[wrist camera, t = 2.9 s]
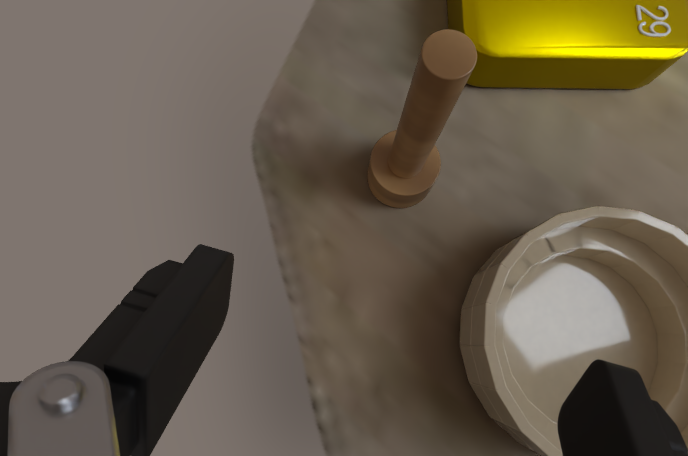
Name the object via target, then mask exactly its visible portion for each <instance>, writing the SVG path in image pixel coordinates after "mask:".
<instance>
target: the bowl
mask: <svg viewBox="0 0 688 456" xmlns="http://www.w3.org/2000/svg"><path fill="white" fill-rule="evenodd" d="M460 349H461V353H462V357H463V361H464V365H465V369H466V373H467V377H468V380H469V382H470V385H471V387H472V388H473V390H474V392H475V393H476V395H477V397H478V398H479V400H480V402H481V403H482V405H483V407H484V408H485V410H486V412H487V413H488V415H489V416H490V417H491V418H492V419H493V420H494V421H495V422H496V423H497V424H498V425H499V426H501V427H502V428H503V429H504V430H505V431H506V432H507V433H508V434H509V435H511V436H512V437H513V438H514V439H515V440H516V441H517V442H518V443H520V444H522V445H523V446H525V447H527V448H529V449H531V450H533V451H534V452H536V453H538V454H540V455H542V456H563V454H562V449H561V445H560V440H559V435H558V416H559V412H560V409H561V406H562V404H563V403H564V401H565V400H566V398H567V397H568V395H569V394H570V393H571V391H572V390H573V388H574V387H575V385H576V384H577V382H578V381H579V380H580V378H581V377H582V375H583V374H584V372H585V371H586V370H587V368H588V367H589V365H590V364H591V363H592V362H593V361H595V360H597V359H600V360H604V361H607V362H611V363H614V364H618V365H621V366H625V367H628V368H632V369H635V370H636V371H638V372H639V374H640V375H641V377H642V380H643V382H644V384H645V387H646V389H647V391H648V394H649V396H650V398H651V400H654V401H657V402H658V403H659V404H660V405H661V406H662V408H663V409H664V410H665V411H666V413H667V414H668V415H669V416H670V417H671V419H672V420H673V421H674V422H675V424H676V425H677V426H678V429H679V431H680V433H681V435H682V437H683V440H684V442H685V444H686V446H687V448H688V235H687V234H686V233H685V232H683V231H682V230H681V229H680V228H678V227H676V226H675V225H672V224H670V223H667V222H665V221H663V220H660V219H658V218H655V217H653V216H651V215H648V214H646V213H643V212H641V211H637V210H632V209H622V208H613V207H603V206H594V207H589V208H584V209H579V210H575V211H570V212H565V213H560V214H557V215H556V216H554V217H552V218H550V219H548V220H547V221H545V222H543V223H541V224H540V225H538V226H536V227H534V228H533V229H531V230H529V231H527V232H526V233H524V234H522V235H520V236H519V237H517V238H515V239H514V240H512V241H510V242H509V243H507V244H505V245H504V246H502V247H500V248H498V249H497V250H496V251H495V252H494V253H493V254H492V255H491V256H490V258H489V259H488V260H487V261H486V262H485V263H484V265H483V266H482V267H481V268H480V269H479V271H478V272H477V273H476V274H475V276H474V277H473V280H472V282H471V285H470V287H469V290H468V293H467V295H466V298H465V300H464V303H463V306H462V310H461V326H460Z"/></svg>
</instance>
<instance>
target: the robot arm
mask: <svg viewBox="0 0 688 456" xmlns="http://www.w3.org/2000/svg"><path fill="white" fill-rule="evenodd" d="M233 264H234V256H233V254H232V253H229V252H226V251H222V250H219V249H215V248H212V247H208V246H205V245H202V244H200V245H198V246H197V247H196V248H195V249H194V250H193V252H192V253H191V254H190V255H189V257H188V258H187V259H186V260H185V262H184V263H183V264H182V263H179V262H175V261H171V260H168V261H166V262H164V263H162V264H160V265H158V266H156V267H155V268H153V269H151V270H149V271H147V273H146V274H145V275H144V276H143V277H142V278H141V279H140V281H139V282H138V283H137V284H136V285H135V286H134V287H133V290H132V291H130V292H129V293H128V294H127V295H126V296H125V297H124V299H123V300H122V301H121V304H120V305H117V307H116V308H115V309H114V310H113V311H112V312H111V313H110V315H109V316H108V317H107V318H106V319H105V320H104V321H103V323H102V324H101V325H100V326H99V327H98V328H97V329H96V331H95V332H94V333H93V334H92V335H91V336H90V337H89V339H88V340H87V341H86V342H85V343H84V344H83V345H82V346H81V348H80V349H79V350H78V351H77V352H76V353H75V355H74V356H73V357H72V358H71V359H70V360H69V361H66V362H60V363H55V364H51V365H49V366H46V367H43V368H41V369H39V370H37V371H35V372H34V373H32V374H31V375H29V376H28V377H27V378H25V379H24V380H23V381H19V382H0V456H150V454H151V453H152V451H153V449H154V447H155V445H156V444H157V442H158V440H159V439H160V437H161V435H162V433H163V432H164V430H165V428H166V426H167V424H168V423H169V421H170V419H171V417H172V416H173V414H174V412H175V410H176V409H177V407H178V405H179V403H180V401H181V400H182V398H183V396H184V394H185V393H186V391H187V389H188V387H189V386H190V384H191V382H192V380H193V379H194V377H195V375H196V373H197V372H198V370H199V368H200V366H201V364H202V363H203V361H204V359H205V357H206V356H207V354H208V352H209V350H210V349H211V347H212V345H213V343H214V342H215V340H216V338H217V336H218V335H219V333H220V331H221V329H222V326H223V324H224V321H225V318H226V315H227V311H228V307H229V299H230V290H231V281H232V273H233ZM558 435H559V440H560V445H561V449H562V454H563V456H688V448H687V446H686V444H685V442H684V440H683V437H682V435H681V433H680V431H679V429H678V426H677V425H676V424H675V422H674V421H673V420H672V419H671V417H670V416H669V415H668V414H667V413H666V411H665V410H664V409H663V408H662V406H661V405H660V404H659V403H658V402H657V401H654V400H651V398H650V396H649V394H648V391H647V389H646V387H645V384H644V382H643V380H642V377H641V375H640V374H639V372H638V371H636V370H635V369H632V368H628V367H625V366H621V365H618V364H614V363H611V362H607V361H604V360H600V359H597V360H595V361H593V362H592V363H591V364H590V365H589V367H588V368H587V370H586V371H585V372H584V374H583V375H582V377H581V378H580V380H579V381H578V382H577V384H576V385H575V387H574V388H573V390H572V391H571V393H570V394H569V395H568V397H567V398H566V400H565V401H564V403H563V404H562V406H561V409H560V412H559V416H558Z"/></svg>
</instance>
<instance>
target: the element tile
mask: <svg viewBox="0 0 688 456" xmlns="http://www.w3.org/2000/svg"><path fill="white" fill-rule="evenodd" d="M447 9H448V29H451V30H456V31H459V32H461V33H463V34H465V35H466V36H467V37H469V38H470V39H471V41H472V42H473V43H474V45H475V48H476V51H477V62H476V65H475V67H474V69H473V71H472V73H471V75H470V77H469V79H468V81H467V84H469V85H472V86H476V87H501V88H580V89H635V88H639V87H642V86H644V85H647V84H649V83H650V82H651V81H653V80H654V79H655V78H656V77H658V76H659V75H660V74H661V73H663V72H664V71H665V70H666V69H667V68H669V67H670V66H671V65H672V64H674V63H675V62H676V61H677V60H678V59H680V58H681V57H682V56H683V55H684V54H685V53H686V52H687V51H688V0H447Z"/></svg>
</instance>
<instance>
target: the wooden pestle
mask: <svg viewBox="0 0 688 456" xmlns="http://www.w3.org/2000/svg"><path fill="white" fill-rule="evenodd" d="M476 62H477V51H476V48H475V45H474V43H473V42H472V41H471V39H470V38H469V37H467V36H466V35H465V34H463V33H461V32H459V31H456V30H451V29H445V30H439V31H437V32H435V33H433V34H431V35H430V36H429V37H428V38H427V39H426V40H425V41H424V43H423V45H422V48H421V52H420V55H419V58H418V62H417V65H416V68H415V72H414V75H413V78H412V81H411V85H410V88H409V91H408V95H407V98H406V101H405V105H404V108H403V111H402V115H401V118H400V121H399V124H398V128H397V130H395V131H392V132H389V133H387V134H385V135H384V136H383V137H381V138H380V139H379V140H378V142H377V143H376V144H375V146H374V148H373V150H372V153H371V157H370V162H369V167H368V173H367V180H368V185H369V188H370V190H371V192H372V193H373V195H374V196H375V197H376V198H377V199H378V200H379V201H380V202H382V203H384V204H385V205H388V206H390V207H394V208H407V207H411V206H413V205H415V204H417V203H419V202H420V201H422V200H423V199H424V198H425V196H426V195H427V194H428V192H429V190H430V189H431V187H432V186H433V184H434V183H435V181H436V179H437V178H438V175H439V172H440V166H441V160H440V155H439V152H438V150H437V148H436V146H435V143H436V141H437V139H438V137H439V135H440V133H441V131H442V129H443V127H444V125H445V123H446V121H447V119H448V117H449V116H450V114H451V112H452V110H453V108H454V106H455V104H456V102H457V100H458V98H459V96H460V94H461V92H462V90H463V88H464V87H465V85H466V83H467V81H468V79H469V77H470V75H471V73H472V71H473V69H474V67H475V65H476Z"/></svg>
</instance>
